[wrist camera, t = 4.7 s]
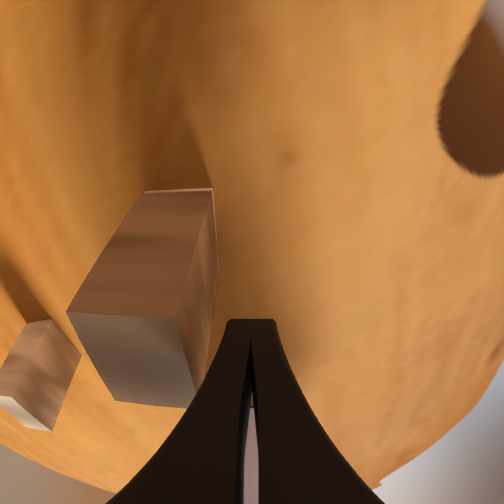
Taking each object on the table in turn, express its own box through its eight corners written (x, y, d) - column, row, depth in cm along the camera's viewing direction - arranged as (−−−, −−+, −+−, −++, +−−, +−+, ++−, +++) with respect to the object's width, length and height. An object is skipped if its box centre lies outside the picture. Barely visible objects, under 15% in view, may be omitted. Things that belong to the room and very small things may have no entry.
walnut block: (219, 269, 17) (200, 409, 10) (160, 269, 17) (115, 400, 10) (213, 188, 14) (176, 318, 8) (145, 191, 14) (65, 311, 8)
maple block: (81, 355, 21) (52, 431, 16) (55, 357, 22) (25, 426, 16) (51, 318, 19) (11, 397, 14) (26, 323, 20) (-12, 393, 14)
